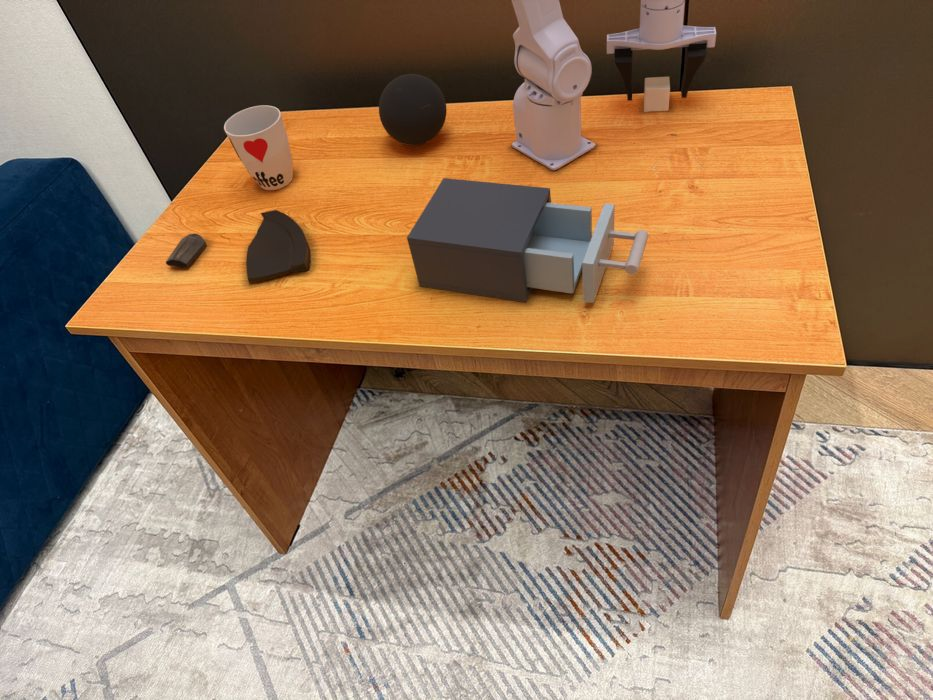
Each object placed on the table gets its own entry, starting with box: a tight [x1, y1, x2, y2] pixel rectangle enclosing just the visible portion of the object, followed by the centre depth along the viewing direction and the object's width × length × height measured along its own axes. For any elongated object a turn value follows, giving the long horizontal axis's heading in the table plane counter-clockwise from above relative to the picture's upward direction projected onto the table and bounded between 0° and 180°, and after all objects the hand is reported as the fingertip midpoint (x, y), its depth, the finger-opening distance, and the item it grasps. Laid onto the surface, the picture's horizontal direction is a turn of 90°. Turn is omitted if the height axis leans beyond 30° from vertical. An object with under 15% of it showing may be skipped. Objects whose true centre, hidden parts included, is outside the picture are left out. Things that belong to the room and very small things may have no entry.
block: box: [165, 233, 208, 269], centre depth 95 cm, size 4×6×2 cm, turn 171°
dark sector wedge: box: [245, 209, 312, 284], centre depth 93 cm, size 8×14×2 cm, turn 9°
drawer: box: [523, 202, 649, 304], centre depth 79 cm, size 17×10×6 cm, turn 70°
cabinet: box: [406, 177, 552, 303], centre depth 83 cm, size 14×12×8 cm
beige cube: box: [643, 76, 671, 113], centre depth 102 cm, size 4×4×4 cm
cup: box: [223, 104, 294, 191], centre depth 101 cm, size 8×8×10 cm
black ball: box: [378, 73, 448, 146], centre depth 103 cm, size 10×10×10 cm
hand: (656, 95), depth 103 cm, fingers open, 7 cm apart
